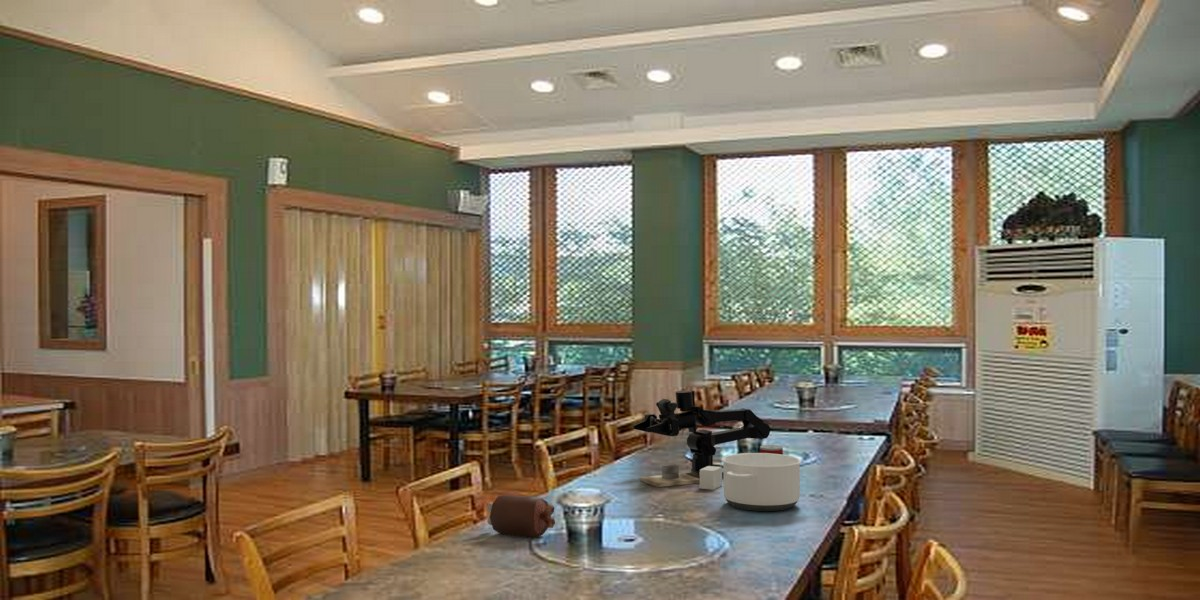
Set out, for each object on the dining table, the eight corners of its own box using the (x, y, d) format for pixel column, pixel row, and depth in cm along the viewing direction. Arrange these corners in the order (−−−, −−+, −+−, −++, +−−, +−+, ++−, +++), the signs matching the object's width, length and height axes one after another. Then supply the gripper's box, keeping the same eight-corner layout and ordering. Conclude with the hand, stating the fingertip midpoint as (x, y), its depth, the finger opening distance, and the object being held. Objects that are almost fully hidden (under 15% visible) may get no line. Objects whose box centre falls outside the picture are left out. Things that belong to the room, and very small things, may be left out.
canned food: (781, 477, 321) (781, 445, 321) (784, 481, 313) (783, 448, 313) (759, 477, 322) (758, 444, 322) (760, 481, 314) (760, 448, 314)
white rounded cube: (708, 484, 310) (707, 465, 310) (721, 485, 307) (721, 467, 307) (699, 488, 303) (699, 469, 303) (713, 489, 301) (713, 470, 301)
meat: (475, 536, 243) (475, 497, 243) (500, 527, 253) (500, 489, 253) (542, 544, 234) (541, 503, 234) (565, 534, 244) (564, 494, 244)
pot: (772, 521, 257) (772, 471, 257) (698, 510, 271) (698, 463, 271) (821, 500, 284) (821, 455, 284) (752, 491, 298) (751, 448, 298)
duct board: (683, 476, 323) (683, 461, 323) (700, 483, 311) (700, 467, 311) (641, 480, 316) (641, 465, 316) (656, 486, 305) (656, 470, 305)
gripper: (663, 397, 336) (624, 403, 329) (691, 400, 319) (651, 406, 312) (666, 428, 336) (627, 434, 329) (694, 432, 320) (654, 440, 313)
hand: (640, 428), depth 321 cm, fingers open, 9 cm apart
